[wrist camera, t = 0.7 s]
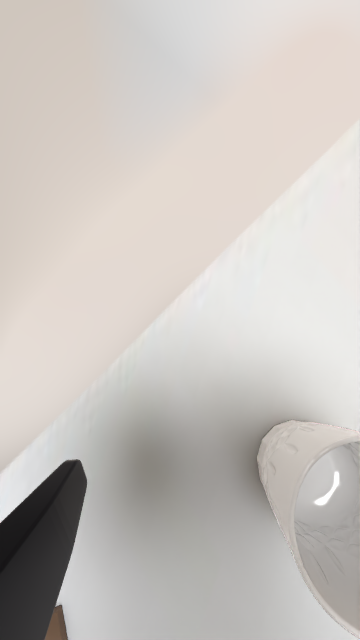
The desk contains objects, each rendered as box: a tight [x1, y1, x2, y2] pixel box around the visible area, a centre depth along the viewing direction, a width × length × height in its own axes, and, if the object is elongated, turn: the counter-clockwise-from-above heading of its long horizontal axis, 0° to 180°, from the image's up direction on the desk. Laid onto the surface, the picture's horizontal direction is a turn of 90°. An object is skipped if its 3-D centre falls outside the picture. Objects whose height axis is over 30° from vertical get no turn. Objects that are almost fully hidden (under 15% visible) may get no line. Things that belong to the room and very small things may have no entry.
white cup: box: [257, 420, 360, 638], centre depth 16 cm, size 8×8×10 cm
